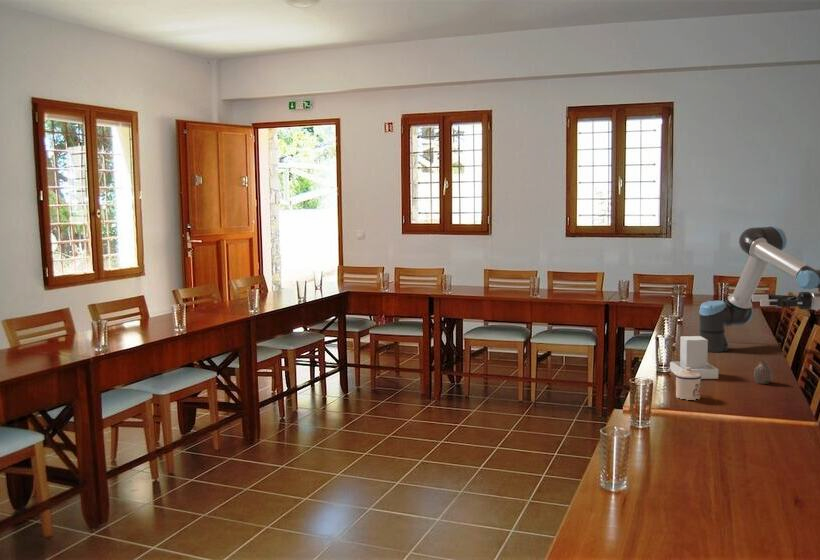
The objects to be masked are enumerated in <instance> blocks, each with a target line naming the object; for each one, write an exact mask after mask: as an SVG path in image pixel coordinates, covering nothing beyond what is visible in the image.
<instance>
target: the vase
mask: <svg viewBox="0 0 820 560" xmlns="http://www.w3.org/2000/svg"><path fill="white" fill-rule="evenodd" d="M753 378H754V381H755V382H756V383H757V384H759V385H767V384H770V383H771V381H772V380H773V369H772V368H771V366H770V365H769V364H768V362H767V361H765V360H760V361H759V363H758V364H756V366H755V367H754V369H753Z"/></svg>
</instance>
